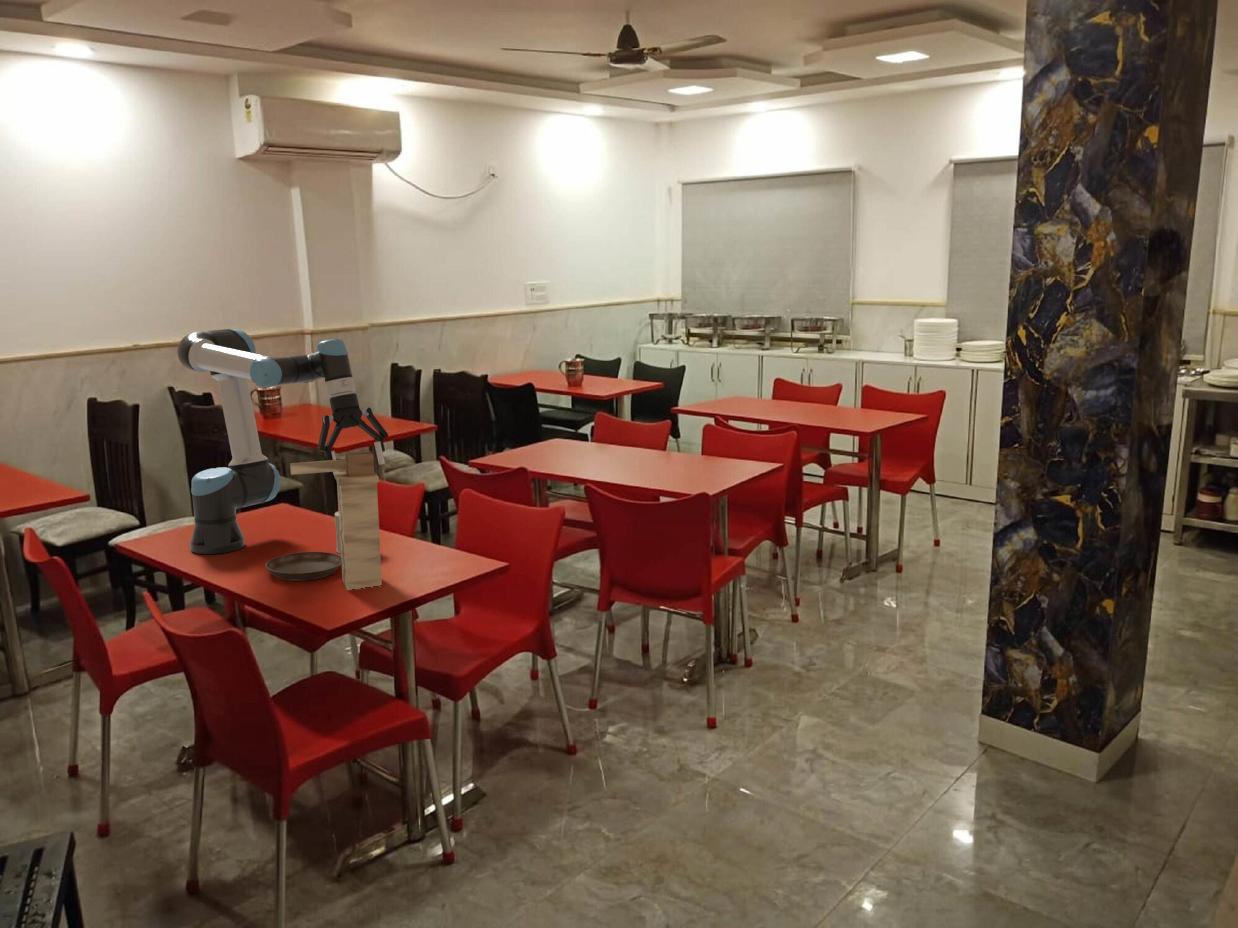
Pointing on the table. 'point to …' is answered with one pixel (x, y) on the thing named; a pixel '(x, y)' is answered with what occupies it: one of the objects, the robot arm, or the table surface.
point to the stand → (359, 530)
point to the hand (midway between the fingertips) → (359, 469)
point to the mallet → (339, 465)
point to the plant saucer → (304, 565)
